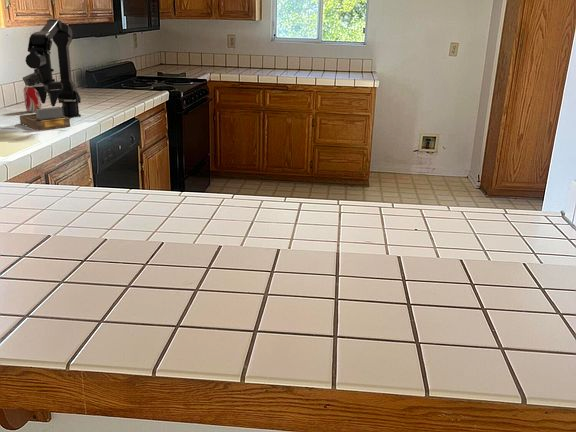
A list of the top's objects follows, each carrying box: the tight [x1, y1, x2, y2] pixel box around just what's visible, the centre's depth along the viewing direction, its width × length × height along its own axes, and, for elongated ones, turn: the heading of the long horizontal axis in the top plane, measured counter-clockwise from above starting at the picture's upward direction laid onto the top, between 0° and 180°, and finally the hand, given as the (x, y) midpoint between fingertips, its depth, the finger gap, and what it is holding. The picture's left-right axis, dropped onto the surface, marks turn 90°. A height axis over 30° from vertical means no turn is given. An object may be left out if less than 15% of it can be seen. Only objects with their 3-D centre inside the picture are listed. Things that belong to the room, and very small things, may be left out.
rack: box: [19, 113, 71, 131], centre depth 241 cm, size 14×18×4 cm
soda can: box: [23, 85, 43, 113], centre depth 269 cm, size 7×7×12 cm
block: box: [35, 106, 63, 121], centre depth 236 cm, size 10×3×7 cm, turn 136°
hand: (48, 104), depth 234 cm, fingers open, 9 cm apart
